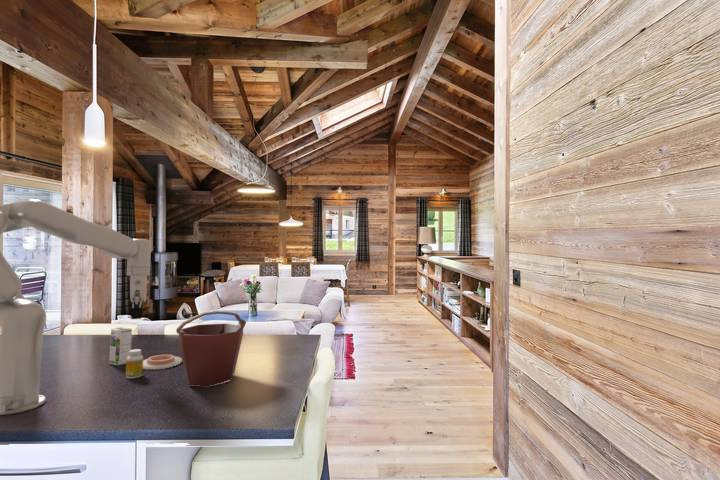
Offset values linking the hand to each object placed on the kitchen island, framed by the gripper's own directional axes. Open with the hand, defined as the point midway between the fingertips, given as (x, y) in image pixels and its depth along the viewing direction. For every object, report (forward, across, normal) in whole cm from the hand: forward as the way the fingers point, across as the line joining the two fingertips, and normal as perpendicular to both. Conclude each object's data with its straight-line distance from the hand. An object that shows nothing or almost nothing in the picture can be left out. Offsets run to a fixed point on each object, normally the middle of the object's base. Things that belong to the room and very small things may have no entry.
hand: (136, 316), depth 138 cm
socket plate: (+22, +13, -9) cm, 27 cm away
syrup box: (+23, +21, +6) cm, 31 cm away
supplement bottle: (+23, 0, 0) cm, 23 cm away
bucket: (+23, -16, -25) cm, 37 cm away
